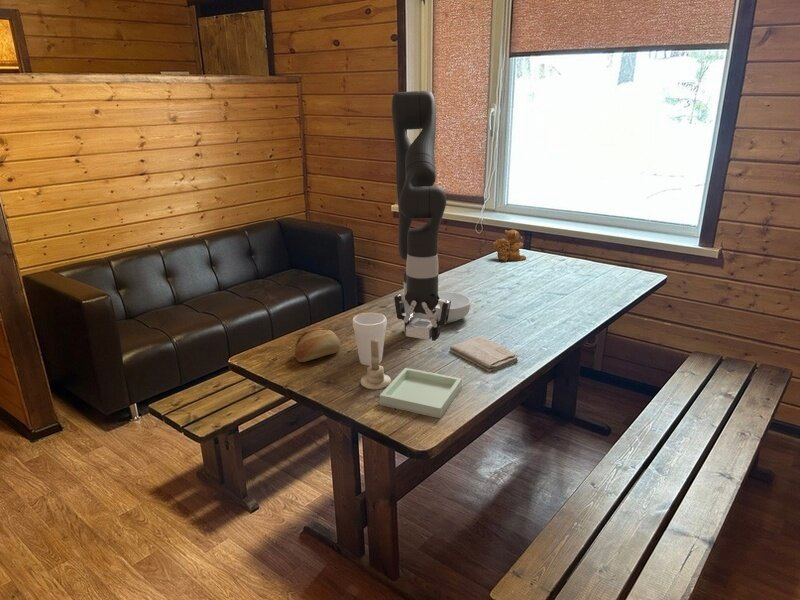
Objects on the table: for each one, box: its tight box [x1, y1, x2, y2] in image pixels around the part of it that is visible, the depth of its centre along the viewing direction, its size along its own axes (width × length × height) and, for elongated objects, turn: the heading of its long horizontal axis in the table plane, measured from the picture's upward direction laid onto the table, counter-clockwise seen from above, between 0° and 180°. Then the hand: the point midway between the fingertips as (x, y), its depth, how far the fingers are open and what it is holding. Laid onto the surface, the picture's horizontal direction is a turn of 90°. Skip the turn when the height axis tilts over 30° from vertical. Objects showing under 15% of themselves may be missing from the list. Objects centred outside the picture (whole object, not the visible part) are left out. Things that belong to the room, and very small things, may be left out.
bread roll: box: [294, 327, 342, 363], centre depth 169 cm, size 10×15×8 cm, turn 134°
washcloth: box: [449, 335, 519, 373], centre depth 169 cm, size 12×18×3 cm, turn 38°
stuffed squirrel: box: [492, 229, 527, 263], centre depth 258 cm, size 10×14×13 cm
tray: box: [379, 367, 463, 419], centre depth 147 cm, size 16×16×3 cm
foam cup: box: [352, 312, 388, 367], centre depth 164 cm, size 10×9×13 cm
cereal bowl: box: [436, 291, 472, 324], centre depth 195 cm, size 17×17×7 cm
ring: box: [405, 318, 433, 341], centre depth 141 cm, size 6×6×2 cm
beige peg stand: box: [360, 340, 392, 391], centre depth 153 cm, size 8×8×12 cm
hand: (422, 337), depth 142 cm, fingers closed on ring, 6 cm apart
